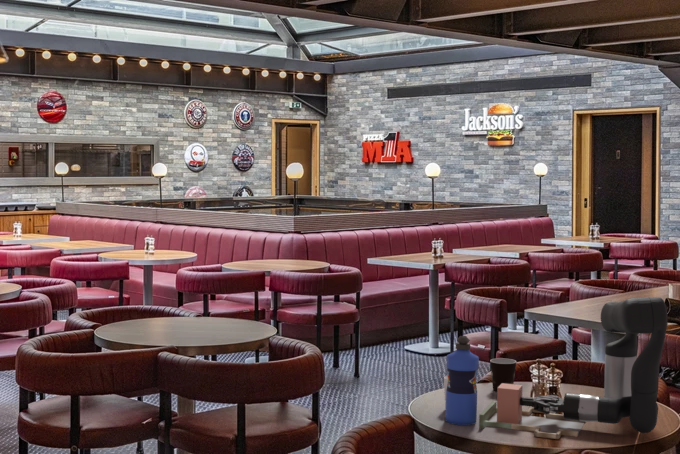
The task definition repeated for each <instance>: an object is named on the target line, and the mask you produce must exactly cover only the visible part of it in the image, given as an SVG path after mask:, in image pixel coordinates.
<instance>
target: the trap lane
mask: <svg viewBox="0 0 680 454" xmlns="http://www.w3.org/2000/svg"><path fill="white" fill-rule="evenodd" d="M532 413H536V414H545V417H543V416H534V415H531V414H532ZM478 416H479V417H478V418H479V419H478V421H479V423H478V428H479V429H481V428H482V429H485V428H486V427H493V428H501V429H502V428H503V429H510V430H518V431H526V432H533V433H534V434H533V436H534V437H538V438H546V439H552V440H554V439H555V440H560V439H561V437H562V436H568V437H576V438H577V437H578V436H579V434H580V432H581V430H582V428H583V426H584V425H585V422H584V421H575V420H567V419H565V418H564V416H563V414H561V413H560V414H559V413H551V412H550V414H546V413H543V412H540V411H537V410H534V408H533V407H531V406H529V407H528V409H527V410H525V409H522V420H521V421H520V422H519V423H518V424H512V423H503V422H497V400H492V401H491V402H490V403H489V404H488V405H487V406H486V407H485V408H484V409H483V410H482V411H481V412H480V413H479V415H478Z"/></svg>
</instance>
